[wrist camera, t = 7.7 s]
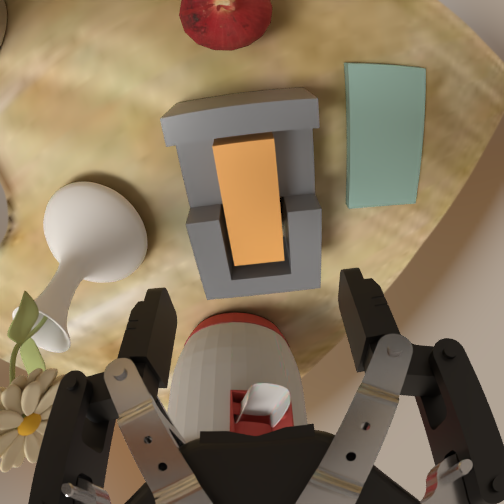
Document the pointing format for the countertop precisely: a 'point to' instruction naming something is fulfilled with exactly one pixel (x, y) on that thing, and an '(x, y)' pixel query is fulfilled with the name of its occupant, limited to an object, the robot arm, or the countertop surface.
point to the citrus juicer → (236, 379)
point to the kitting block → (289, 181)
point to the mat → (383, 133)
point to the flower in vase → (63, 303)
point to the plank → (250, 196)
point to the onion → (225, 22)
